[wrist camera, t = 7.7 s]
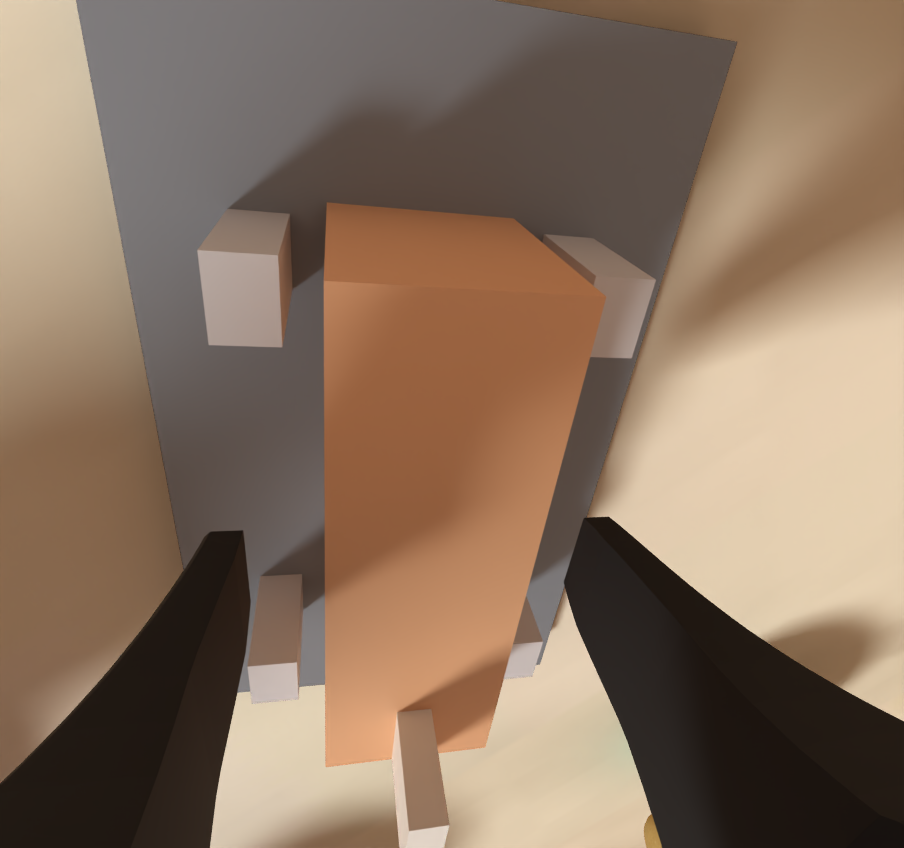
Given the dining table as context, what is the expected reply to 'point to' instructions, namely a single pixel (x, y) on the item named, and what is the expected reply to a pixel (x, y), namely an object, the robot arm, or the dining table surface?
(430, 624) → the long tan brick
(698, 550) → the dining table surface
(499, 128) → the grey pegged plate
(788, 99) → the dining table surface
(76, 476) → the dining table surface
